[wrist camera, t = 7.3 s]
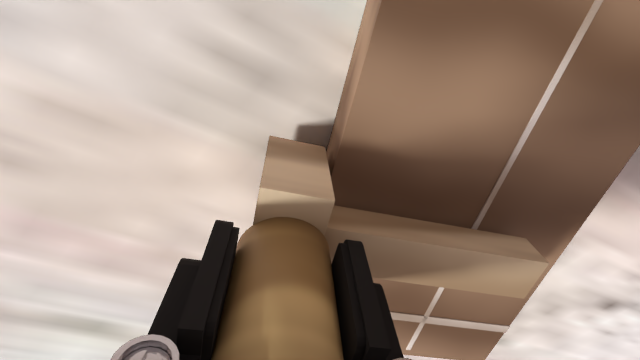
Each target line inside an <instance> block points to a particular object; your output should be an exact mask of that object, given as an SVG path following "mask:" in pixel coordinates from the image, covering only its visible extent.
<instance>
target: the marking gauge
mask: <svg viewBox="0 0 640 360" xmlns="http://www.w3.org/2000/svg"><path fill="white" fill-rule="evenodd" d="M334 203H335V197H334V191H333V186H332V181H331V176H330V171H329V165H328V160H327V155H326V150H325V147H324V146H319V145H314V144H309V143H304V142H299V141H294V140H289V139H284V138H278V137H273V136H269V141H268V147H267V152H266V157H265V162H264V168H263V173H262V178H261V184H260V189H259V194H258V200H257V205H256V211H255V217H254V222H253V226H251V227H250V228H249V229H248V230H246V231H245V233H244V234H243V235H242V236H241V238H240V240H239V242H238V245H237V249H236V254H235V258H234V263H233V267H232V271H231V275H230V280H229V284H228V288H227V293H226V297H225V301H224V305H223V310H222V314H221V318H220V323H219V327H218V331H217V335H216V340H215V344H214V348H213V353H212V357H211V360H344V357H343V350H342V342H341V335H340V327H339V319H338V312H337V304H336V296H335V289H334V281H333V274H332V266H331V264H332V261H333V258H334V255H335V252H336V249H337V246H338V244H339V243H344V241H345V240H346V239H347V240H354V241H361V242H362V243H363V246H364V249H365V253H366V257H367V260H368V264H369V268H370V272H371V275H372V278H377V279H384V280H391V281H399V282H406V283H413V284H420V285H428V286H435V287H442V288H449V289H457V290H464V291H471V292H478V293H486V294H493V295H500V296H507V297H515V298H522V299H524V298H525V297H526V296H527V294H528V293H529V291H530V290H531V288H532V287H533V286H534V284H535V283H536V281H537V280H538V279H539V277H540V276H541V274H542V273H543V272H544V270H545V269H546V267H547V266H548V265H549V262H548V261H547V260H546V259H545V258H544V257H543V256H542V255H541V254H540V253H539V252H538V251H537V250H536V249H535V248H534V247H533V245H532V244H531V243H530V242H529V241H528V240H527V239H526V238H522V237H516V236H510V235H504V234H498V233H492V232H487V231H481V230H475V229H469V228H463V227H457V226H452V225H446V224H440V223H434V222H428V221H422V220H417V219H411V218H405V217H399V216H393V215H387V214H382V213H376V212H370V211H364V210H358V209H352V208H346V207H341V206H335V205H334Z"/></svg>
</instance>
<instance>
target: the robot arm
mask: <svg viewBox="0 0 640 360" xmlns="http://www.w3.org/2000/svg"><path fill="white" fill-rule="evenodd" d="M238 234H239V228H236V227H233V222H227V221H220V220H216V221H215V224H214V227H213V230H212V232H211V235H210V238H209V241H208V244H207V246H206V249H205V252H204V255H203V258H202V260H193V259H186V258H182V259H181V260H180V262H179V264H178V266H177V269H176V271H175V273H174V275H173V278H172V280H171V282H170V285H169V287H168V289H167V291H166V294H165V296H164V298H163V301H162V303H161V305H160V307H159V310H158V312H157V314H156V317H155V319H154V321H153V323H152V326H151V328H150V330H149V333H148V335H144V336H140V337H137V338H134V339H132V340H130V341H128V342H127V343H125V344H124V345H122V346H121V347H120V348H119V349H118V350H117V351H116V352H115V353H114V354H113V356H112V358H111V360H211V357H212V353H213V348H214V344H215V340H216V335H217V331H218V327H219V323H220V318H221V314H222V310H223V305H224V301H225V297H226V293H227V288H228V284H229V280H230V275H231V271H232V267H233V263H234V258H235V254H236V248H237V241H238ZM331 266H332V274H333V281H334V289H335V296H336V304H337V312H338V319H339V327H340V335H341V342H342V350H343V357H344V360H411V359H408V358H404V357H403V354H402V350H401V347H400V344H399V340H398V337H397V333H396V330H395V327H394V323H393V320H392V317H391V313H390V310H389V307H388V303H387V300H386V296H385V293H384V290H383V287H382V285H381V284H379V283H373V279H372V275H371V272H370V268H369V264H368V260H367V257H366V253H365V249H364V246H363V243H362V242H361V241H354V240H347V239H346V240H345V241H344V243H339V244H338V246H337V249H336V252H335V255H334V258H333V261H332V264H331Z"/></svg>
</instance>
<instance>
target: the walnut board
mask: <svg viewBox="0 0 640 360" xmlns="http://www.w3.org/2000/svg"><path fill="white" fill-rule="evenodd" d="M639 145H640V0H367V3H366V6H365V10H364V14H363V17H362V21H361V25H360V29H359V32H358V36H357V40H356V44H355V47H354V51H353V55H352V58H351V62H350V66H349V70H348V73H347V77H346V81H345V84H344V88H343V92H342V96H341V99H340V103H339V107H338V110H337V114H336V118H335V122H334V125H333V129H332V133H331V137H330V140H329V144H328V148H327V151H326V155H327V160H328V165H329V171H330V176H331V181H332V186H333V191H334V197H335V203H334V205H335V206H341V207H346V208H352V209H358V210H364V211H370V212H376V213H382V214H387V215H393V216H399V217H405V218H411V219H417V220H422V221H428V222H434V223H440V224H446V225H452V226H457V227H463V228H469V229H475V230H481V231H487V232H492V233H498V234H504V235H510V236H516V237H522V238H526V239H527V240H528V241H529V242H530V243H531V244H532V245H533V247H534V248H535V249H536V250H537V251H538V252H539V253H540V254H541V255H542V256H543V257H544V258H545V259H546V260H547V261H548V262H549V265H548V266H547V267H546V269H545V270H544V272H543V273H542V274H541V276H540V277H539V279H538V280H537V281H536V283H535V284H534V286H533V287H532V288H531V290H530V291H529V293H528V294H527V296H526V297H525V298H524V299H522V298H515V297H507V296H500V295H493V294H486V293H478V292H471V291H464V290H457V289H449V288H442V287H435V286H428V285H420V284H413V283H406V282H399V281H391V280H384V279H377V278H372V279H373V283H379V284H381V285H382V287H383V290H384V293H385V296H386V300H387V303H388V307H389V310H390V313H391V317H392V320H393V323H394V327H395V330H396V333H397V337H398V340H399V344H400V347H401V350H402V354H404V355H414V356H424V357H434V358H444V359H454V360H485V359H486V357H487V356H488V355H489V353H490V352H491V351H492V349H493V348H494V346H495V345H496V344H497V342H498V341H499V339H500V338H501V337H502V335H503V334H504V333H506V331H507V330H508V329H509V327H510V324H511V323H512V321H513V320H514V319H515V317H516V316H517V314H518V313H519V312H520V310H521V309H522V308H523V306H524V305H525V303H526V302H527V301H528V299H529V298H530V296H531V295H532V294H533V292H534V291H535V290H536V288H537V287H538V285H539V284H540V283H541V281H542V280H543V278H544V277H545V276H546V274H547V273H548V271H549V270H550V269H551V267H552V266H553V265H554V263H555V262H556V260H557V259H558V258H559V256H560V255H561V253H562V252H563V251H564V249H565V248H566V247H567V245H568V244H569V242H570V241H571V240H572V238H573V237H574V235H575V234H576V233H577V231H578V230H579V228H580V227H581V226H582V224H583V223H584V222H585V220H586V219H587V217H588V216H589V215H590V213H591V212H592V210H593V209H594V208H595V206H596V205H597V204H598V202H599V201H600V199H601V198H602V197H603V195H604V194H605V192H606V191H607V190H608V188H609V187H610V185H611V184H612V183H613V181H614V180H615V179H616V177H617V176H618V174H619V173H620V172H621V170H622V169H623V167H624V166H625V165H626V163H627V162H628V161H629V159H630V158H631V156H632V155H633V154H634V152H635V151H636V149H637V148H638V147H639Z"/></svg>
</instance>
